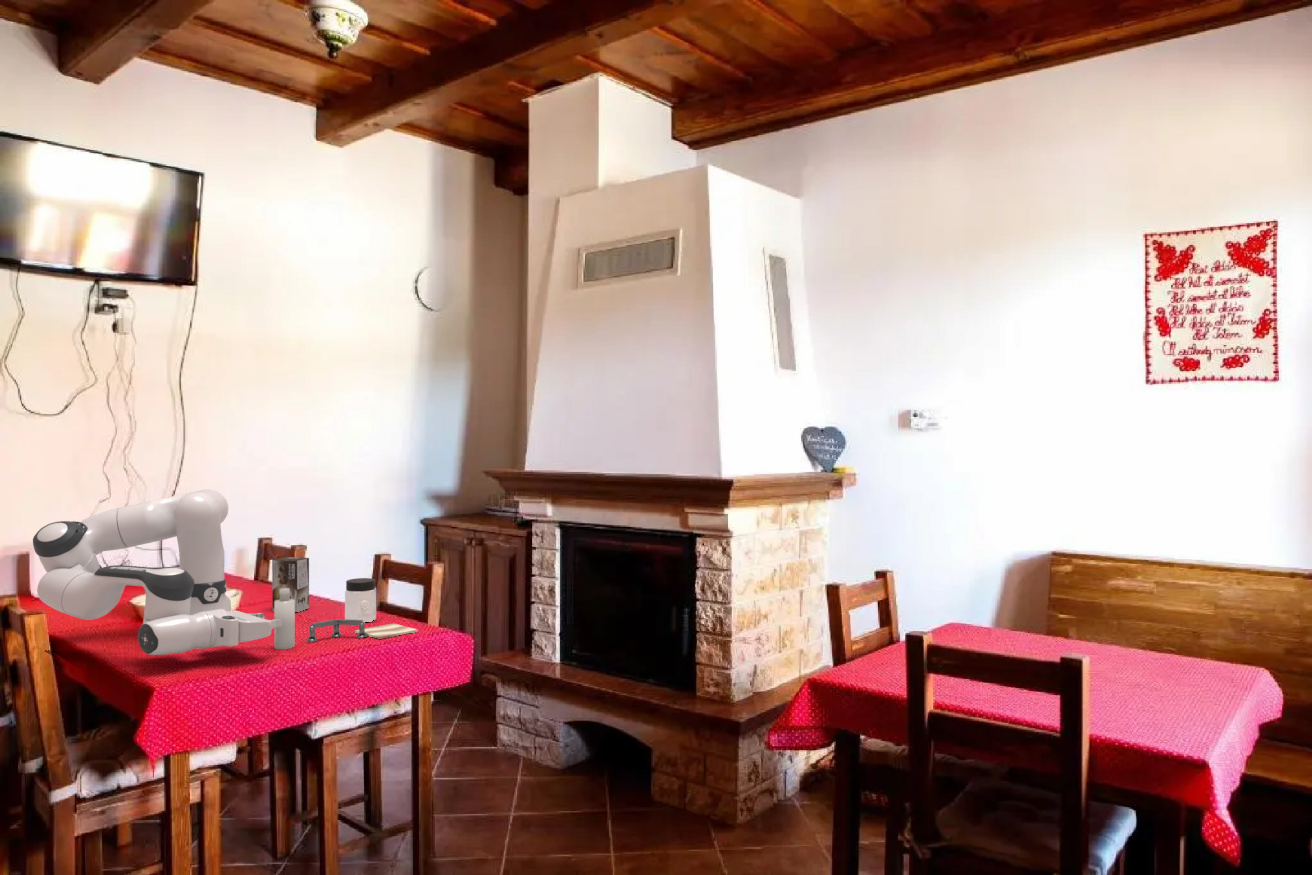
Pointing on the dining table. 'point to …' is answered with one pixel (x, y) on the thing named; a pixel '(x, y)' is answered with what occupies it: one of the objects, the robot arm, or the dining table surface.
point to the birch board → (387, 631)
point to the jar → (360, 599)
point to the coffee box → (291, 580)
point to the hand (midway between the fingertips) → (272, 619)
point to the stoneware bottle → (285, 620)
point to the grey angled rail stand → (336, 628)
